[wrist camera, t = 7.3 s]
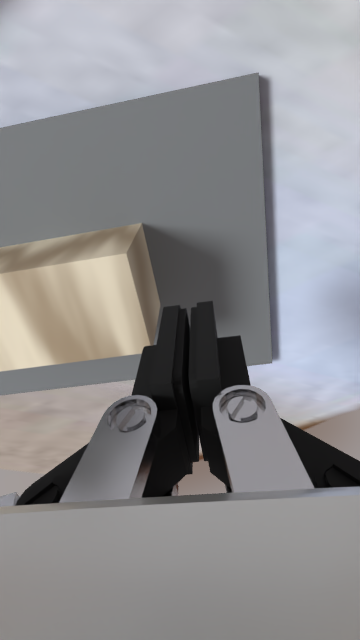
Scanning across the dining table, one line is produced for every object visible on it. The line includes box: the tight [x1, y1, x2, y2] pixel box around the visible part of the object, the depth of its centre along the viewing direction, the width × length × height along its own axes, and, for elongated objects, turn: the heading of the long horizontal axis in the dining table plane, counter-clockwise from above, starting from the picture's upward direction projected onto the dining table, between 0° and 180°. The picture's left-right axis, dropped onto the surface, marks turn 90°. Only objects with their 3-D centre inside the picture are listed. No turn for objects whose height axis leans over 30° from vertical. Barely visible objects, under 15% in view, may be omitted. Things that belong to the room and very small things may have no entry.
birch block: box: [0, 223, 160, 372], centre depth 18 cm, size 5×5×12 cm
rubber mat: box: [0, 73, 272, 395], centre depth 20 cm, size 22×16×1 cm
